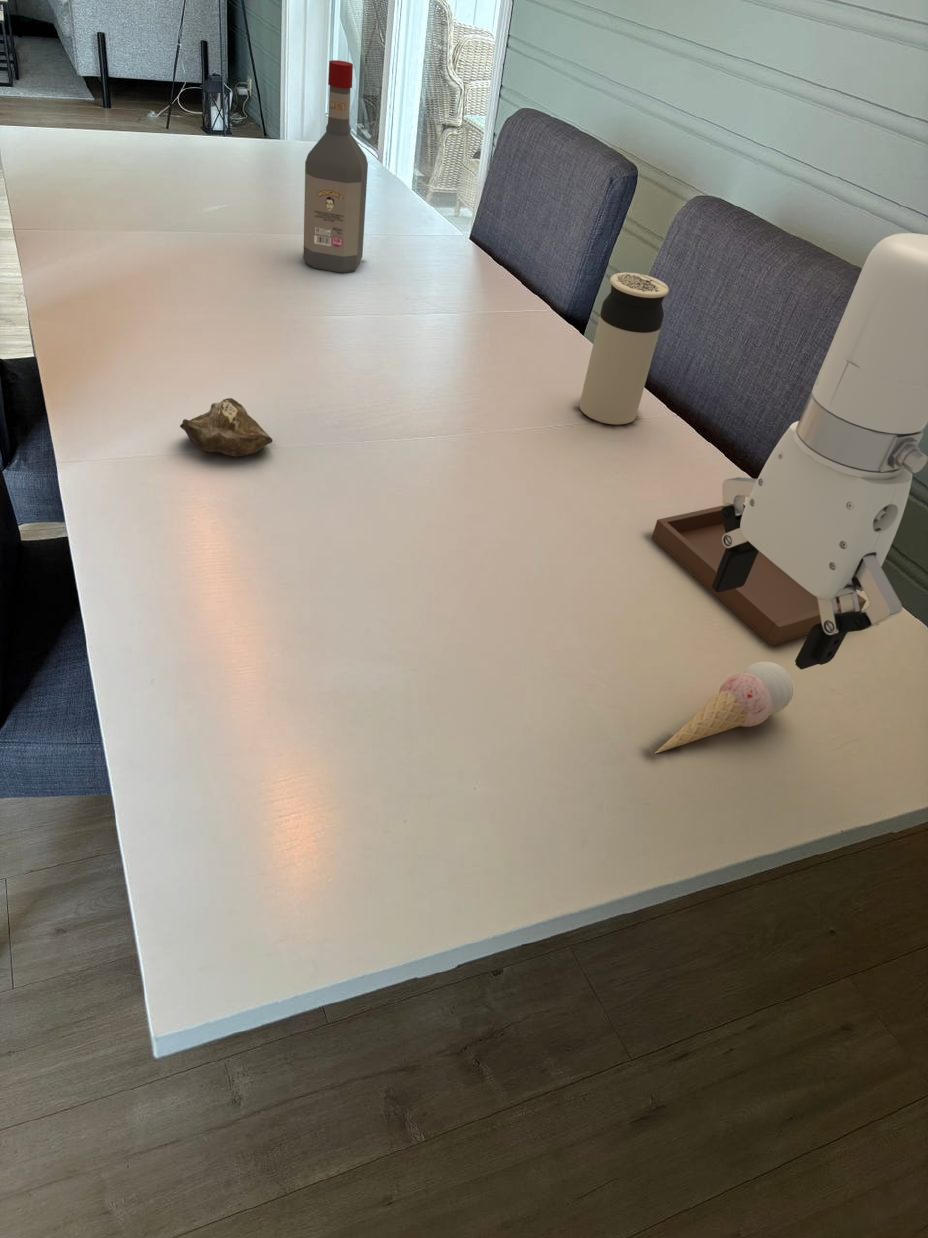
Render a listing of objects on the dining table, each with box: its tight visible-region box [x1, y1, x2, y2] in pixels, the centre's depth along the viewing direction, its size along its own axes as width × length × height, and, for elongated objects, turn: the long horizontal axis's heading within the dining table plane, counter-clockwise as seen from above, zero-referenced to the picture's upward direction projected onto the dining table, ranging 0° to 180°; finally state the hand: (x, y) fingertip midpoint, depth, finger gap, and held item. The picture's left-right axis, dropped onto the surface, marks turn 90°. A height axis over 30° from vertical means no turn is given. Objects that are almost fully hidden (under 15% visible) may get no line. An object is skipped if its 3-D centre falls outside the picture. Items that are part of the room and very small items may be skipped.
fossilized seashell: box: [179, 397, 273, 458], centre depth 104 cm, size 8×7×10 cm
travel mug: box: [578, 272, 670, 426], centre depth 120 cm, size 8×8×18 cm
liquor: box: [302, 59, 369, 274], centre depth 148 cm, size 9×9×30 cm
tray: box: [651, 504, 867, 647], centre depth 99 cm, size 20×13×2 cm, turn 29°
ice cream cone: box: [653, 661, 794, 755], centre depth 79 cm, size 5×5×15 cm
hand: (767, 623), depth 72 cm, fingers open, 9 cm apart
